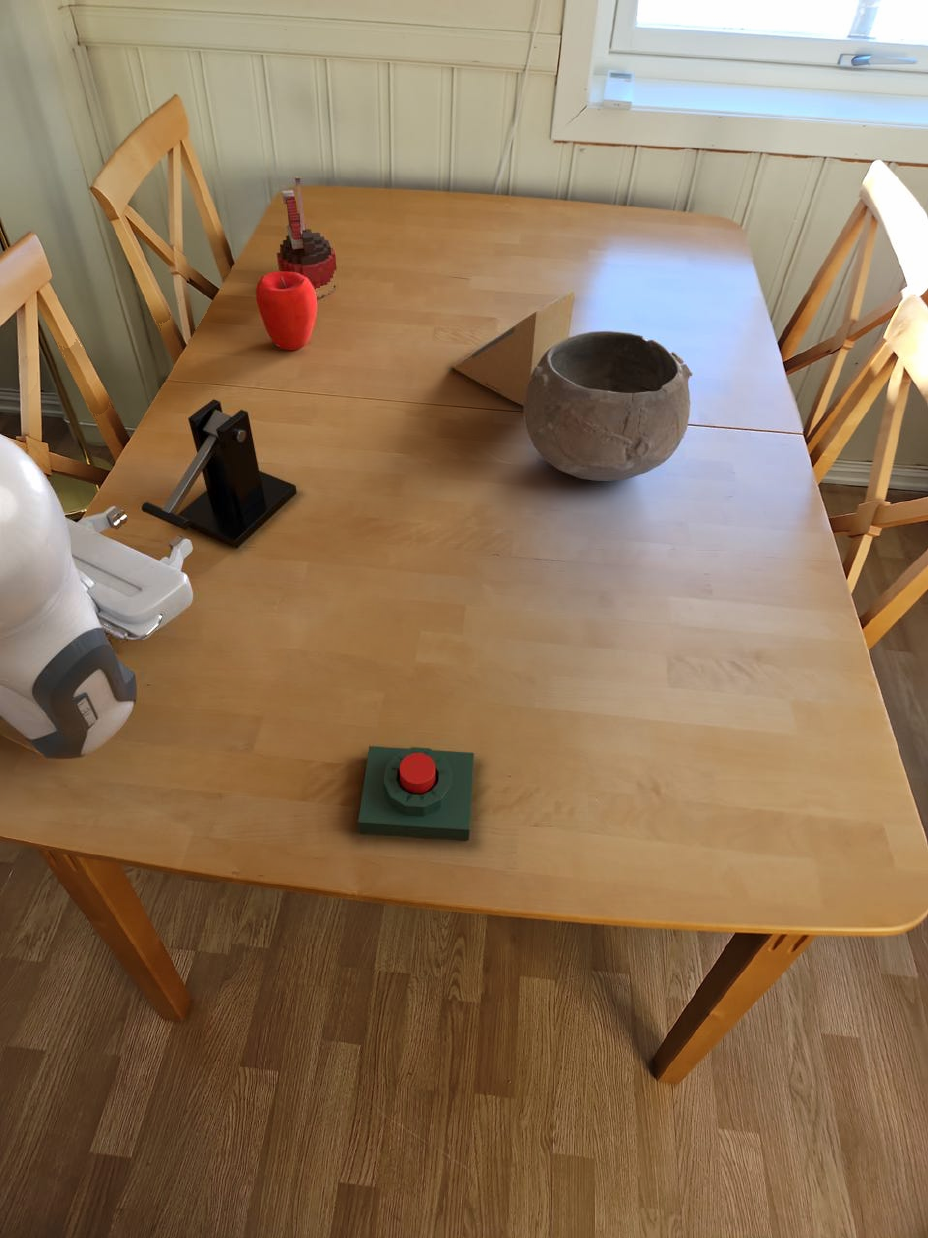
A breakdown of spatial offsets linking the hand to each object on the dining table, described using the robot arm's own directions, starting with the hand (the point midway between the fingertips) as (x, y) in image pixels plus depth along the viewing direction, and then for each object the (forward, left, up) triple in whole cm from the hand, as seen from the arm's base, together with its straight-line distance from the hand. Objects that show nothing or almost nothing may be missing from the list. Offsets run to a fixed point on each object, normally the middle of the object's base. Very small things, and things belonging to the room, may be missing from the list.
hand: (153, 526), depth 90 cm
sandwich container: (+22, +55, -7) cm, 60 cm away
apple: (-12, +50, -7) cm, 52 cm away
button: (+38, -16, -3) cm, 42 cm away
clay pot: (+40, +41, -7) cm, 58 cm away
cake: (-18, +67, -7) cm, 70 cm away
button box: (+38, -16, -7) cm, 42 cm away
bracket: (+1, +13, -7) cm, 15 cm away
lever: (+1, +8, +2) cm, 9 cm away
